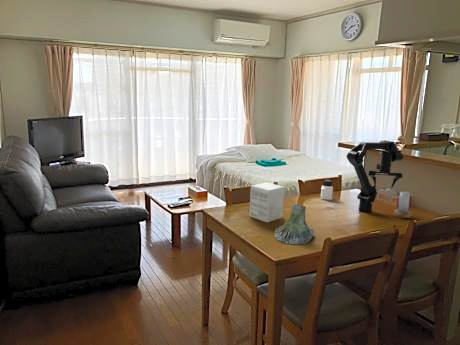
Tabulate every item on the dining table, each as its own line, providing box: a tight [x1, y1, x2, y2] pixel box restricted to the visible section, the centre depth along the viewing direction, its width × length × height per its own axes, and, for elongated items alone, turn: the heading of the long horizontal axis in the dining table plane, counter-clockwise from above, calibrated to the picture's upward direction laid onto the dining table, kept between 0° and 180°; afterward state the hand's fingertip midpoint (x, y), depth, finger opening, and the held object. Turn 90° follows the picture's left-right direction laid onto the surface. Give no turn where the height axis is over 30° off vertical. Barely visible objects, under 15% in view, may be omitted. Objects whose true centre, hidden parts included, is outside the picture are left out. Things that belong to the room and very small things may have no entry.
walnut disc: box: [393, 208, 413, 219], centre depth 210 cm, size 9×9×3 cm
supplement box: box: [248, 182, 285, 223], centre depth 200 cm, size 13×13×18 cm
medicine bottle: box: [320, 179, 334, 201], centre depth 242 cm, size 7×7×12 cm
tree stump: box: [273, 203, 315, 246], centre depth 175 cm, size 18×20×18 cm
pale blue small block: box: [397, 190, 411, 213], centre depth 209 cm, size 5×5×11 cm
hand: (383, 187), depth 222 cm, fingers open, 9 cm apart
